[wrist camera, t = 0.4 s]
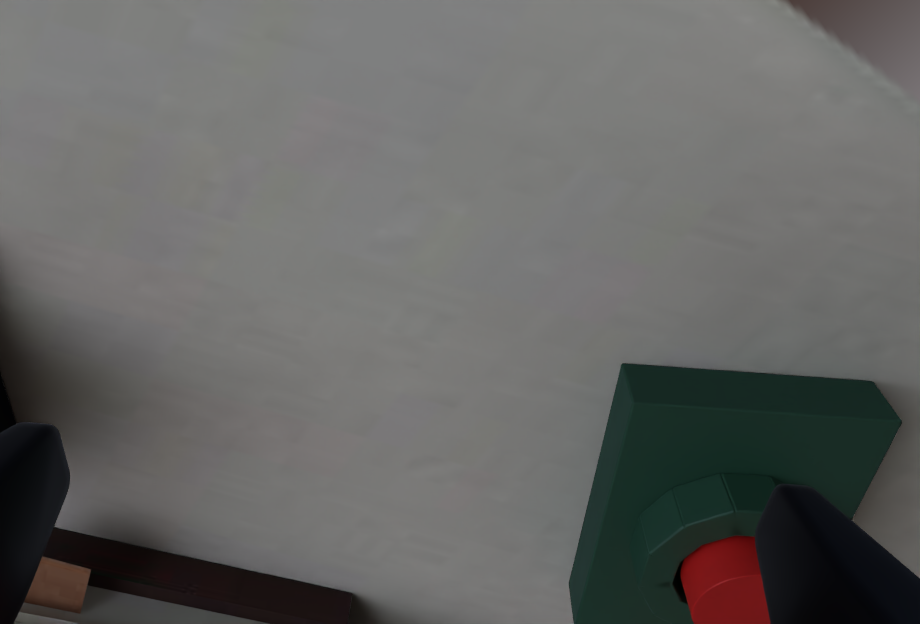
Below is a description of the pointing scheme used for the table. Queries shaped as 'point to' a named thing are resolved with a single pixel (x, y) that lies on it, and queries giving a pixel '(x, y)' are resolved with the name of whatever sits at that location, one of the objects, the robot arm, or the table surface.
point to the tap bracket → (5, 409)
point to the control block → (711, 474)
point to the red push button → (725, 583)
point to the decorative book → (164, 589)
